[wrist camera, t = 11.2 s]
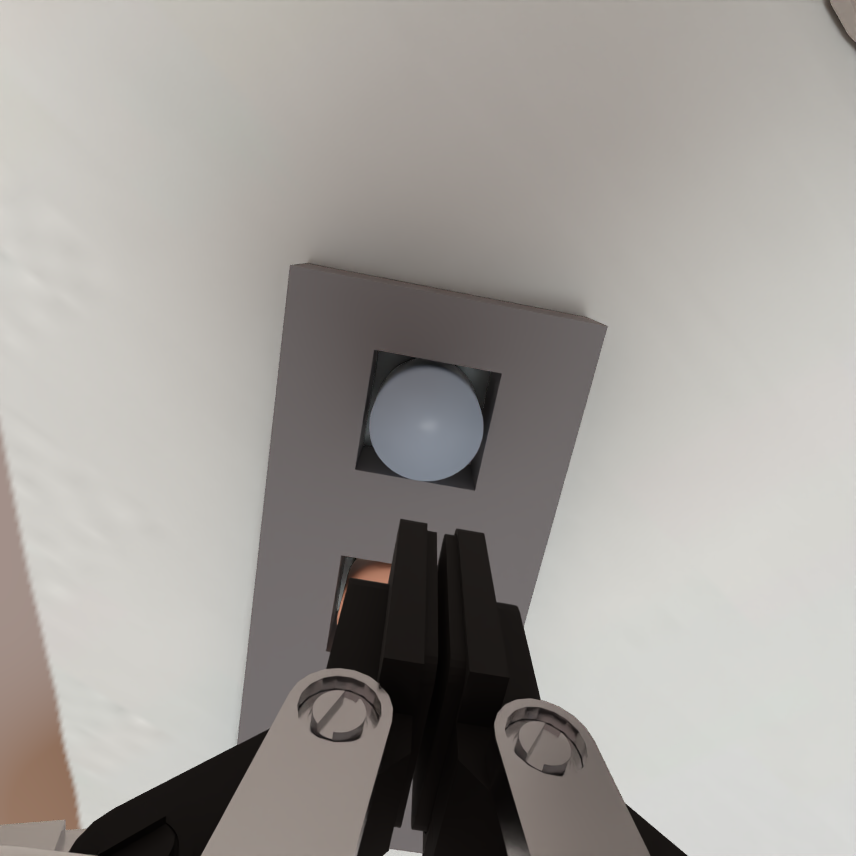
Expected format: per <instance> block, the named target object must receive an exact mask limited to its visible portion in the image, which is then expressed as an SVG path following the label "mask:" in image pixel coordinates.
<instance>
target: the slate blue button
mask: <svg viewBox="0 0 856 856" xmlns="http://www.w3.org/2000/svg"><path fill="white" fill-rule="evenodd" d="M369 433H370V438H371V442H372V445H373V447H374V449H375V452H376V453H377V455H378V456H379V458H380V459H381V460H382V462H383V463H384V464H385V465H386V466H387V467H389V468H390V469H391V470H392V471H394V472H395V473H397V474H399V475H401V476H403V477H406V478H408V479H412V480H417V481H436V480H441V479H445V478H447V477H450V476H452V475H454V474H456V473H458V472H459V471H460V470H462V469H463V468H464V467H465V466H467V465H468V464H469V463H470V461H471V460H472V459H473V458H474V456H475V455H476V453H477V451H478V449H479V447H480V444H481V441H482V437H483V417H482V413H481V409H480V406H479V403H478V400H477V396H476V393H475V390H474V388H473V385H472V384H471V382H470V380H469V379H468V378H467V376H466V375H465V374H464V373H463V372H462V371H461V370H460V369H459V368H457V367H456V366H454V365H453V364H448V363H443V362H438V361H432V360H427V359H422V358H417V359H413V360H409V361H407V362H405V363H403V364H401V365H399V366H398V367H396V368H395V369H394V370H392V371H391V372H390V374H389V375H388V376H387V377H386V378H385V380H384V381H383V383H382V385H381V387H380V389H379V392H378V395H377V397H376V400H375V403H374V405H373V408H372V411H371V415H370V421H369Z"/></svg>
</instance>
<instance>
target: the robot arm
mask: <svg viewBox="0 0 856 856" xmlns="http://www.w3.org/2000/svg"><path fill="white" fill-rule="evenodd" d="M830 2H831V5H832V7H833V9H834V11H835V12H836V14H837V16H838V18H839V19H840V21H841V23H842V25H843V26H844V28H845V30H846V32H847V33H848V35H849V36H850V37H851V38H852V39H853V40H854V41H855V42H856V0H830ZM427 526H428V525H427V523H423V522H417V521H411V520H406V519H400V523H399V527H398V533H397V538H396V543H395V549H394V554H393V559H392V564H391V570H390V575H389V580H388V584H386V583H380V582H374V581H368V580H362V579H357V578H351V577H350V578H349V582H348V585H347V589H346V593H345V597H344V601H343V605H342V609H341V613H340V616H339V620H338V624H337V628H336V632H335V636H334V640H333V644H332V648H331V652H330V656H329V659H328V663H327V667H326V669H324V670H321V671H318V672H314V673H311V674H309V675H308V676H306V677H305V678H303V679H302V680H300V681H299V682H297V684H296V685H295V686H294V687H293V689H292V690H291V691H290V692H289V694H288V696H287V698H286V700H285V702H284V703H283V705H282V707H281V709H280V711H279V713H278V714H277V716H276V718H275V720H274V722H273V724H272V726H271V727H270V728H269V729H268V730H266V731H264V732H262V733H260V734H258V735H256V736H254V737H252V738H250V739H248V740H246V741H244V742H242V743H240V744H238V745H236V746H234V747H233V748H231V749H229V750H227V751H225V752H223V753H221V754H219V755H217V756H215V757H213V758H211V759H209V760H207V761H205V762H203V763H201V764H199V765H198V766H196V767H194V768H192V769H190V770H188V771H186V772H184V773H182V774H180V775H178V776H176V777H174V778H172V779H170V780H168V781H166V782H164V783H163V784H161V785H159V786H157V787H155V788H153V789H151V790H149V791H147V792H145V793H143V794H141V795H139V796H137V797H135V798H133V799H131V800H129V801H128V802H126V803H124V804H122V805H120V806H118V807H116V808H114V809H112V810H111V811H109V812H108V813H106V814H105V815H103V816H102V817H100V818H99V819H97V820H96V821H94V822H93V823H92V824H91V825H90V826H89V827H88V828H87V829H77V830H65V820H57V821H45V822H33V823H19V824H7V825H0V856H383V855H384V854H385V853H386V852H388V851H389V847H390V843H391V838H392V834H393V830H394V827H397V828H401V826H402V822H403V818H404V813H405V809H406V805H407V800H408V796H409V792H410V787H411V783H412V779H413V783H412V808H411V829H412V830H418V831H423V855H422V856H687V855H686V854H685V853H684V852H683V851H681V850H680V849H679V848H678V847H677V846H675V845H674V844H673V843H672V842H671V841H669V840H668V839H667V838H666V837H665V836H663V835H662V834H661V833H660V832H659V831H658V830H656V829H655V828H654V827H653V826H652V825H650V824H649V823H648V822H647V821H646V820H644V819H643V818H642V817H641V816H640V815H638V814H637V813H636V812H635V811H634V810H632V809H631V808H630V807H629V806H628V805H627V804H625V802H624V800H623V798H622V796H621V794H620V792H619V790H618V788H617V786H616V784H615V782H614V780H613V778H612V776H611V774H610V772H609V770H608V768H607V766H606V763H605V761H604V759H603V757H602V755H601V753H600V751H599V749H598V747H597V745H596V743H595V741H594V739H593V738H592V736H591V735H590V733H589V732H588V730H587V729H586V727H585V726H584V725H583V724H582V723H581V722H580V721H579V720H578V719H577V718H575V717H574V716H573V715H572V714H570V713H569V712H567V711H565V710H564V709H562V708H561V707H559V706H556V705H554V704H551V703H549V702H546V701H543V700H541V699H540V695H539V691H538V687H537V682H536V678H535V674H534V670H533V665H532V661H531V657H530V653H529V648H528V644H527V640H526V636H525V631H524V627H523V623H522V619H521V614H520V611H519V608H518V606H516V605H512V604H506V603H500V602H496V596H495V591H494V585H493V579H492V574H491V568H490V562H489V556H488V551H487V545H486V539H485V534H484V533H481V532H475V531H469V530H464V529H458V528H457V529H456V530H455V533H454V535H450V534H445V535H444V538H443V542H442V546H441V551H440V556H439V560H438V565H437V532H433V531H427Z"/></svg>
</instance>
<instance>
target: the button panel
mask: <svg viewBox="0 0 856 856" xmlns="http://www.w3.org/2000/svg"><path fill="white" fill-rule="evenodd" d="M607 327H608V326H606V325H604V324H601V323H599V322H597V321H594V320H592V319H590V318H587V317H583V316H578V315H573V314H567V313H562V312H557V311H552V310H547V309H542V308H536V307H531V306H526V305H521V304H516V303H510V302H505V301H500V300H495V299H490V298H485V297H479V296H474V295H469V294H464V293H459V292H453V291H448V290H443V289H438V288H433V287H427V286H422V285H417V284H412V283H407V282H402V281H396V280H391V279H386V278H381V277H376V276H370V275H365V274H360V273H355V272H350V271H345V270H339V269H334V268H329V267H324V266H319V265H313V264H308V263H305V264H296V265H290V270H289V280H288V289H287V298H286V307H285V316H284V325H283V334H282V343H281V352H280V361H279V370H278V379H277V388H276V398H275V407H274V416H273V425H272V434H271V443H270V452H269V461H268V470H267V479H266V488H265V497H264V506H263V516H262V525H261V534H260V543H259V552H258V561H257V570H256V579H255V588H254V597H253V606H252V615H251V624H250V634H249V643H248V652H247V661H246V670H245V679H244V688H243V697H242V706H241V715H240V724H239V733H238V742H237V745H238V744H240V743H242V742H244V741H246V740H248V739H250V738H252V737H254V736H256V735H258V734H260V733H262V732H264V731H266V730H268V729H269V728H270V727H271V726H272V724H273V722H274V720H275V718H276V716H277V714H278V713H279V711H280V709H281V707H282V705H283V703H284V702H285V700H286V698H287V696H288V694H289V692H290V691H291V690H292V689H293V687H294V686H295V685H296V684H297V682H299V681H300V680H302V679H303V678H305V677H306V676H308V675H309V674H311V673H314V672H318V671H321V670H324V669H326V667H327V663H328V659H329V656H330V652H331V648H332V644H333V640H334V636H335V632H336V628H337V616H338V612H337V604H338V598H339V592H340V586H341V580H342V573H343V567H344V561H345V556H348V557H354V558H360V559H366V560H372V561H378V562H384V563H390V564H392V559H393V554H394V549H395V543H396V538H397V533H398V527H399V523H400V519H406V520H411V521H417V522H423V523H427V525H428V526H427V531H433V532H437V565H438V560H439V556H440V551H441V546H442V542H443V538H444V535H445V534H450V535H454V533H455V530H456V529H457V528H458V529H464V530H469V531H475V532H481V533H484V534H485V539H486V545H487V551H488V556H489V562H490V568H491V574H492V579H493V585H494V591H495V596H496V602H500V603H506V604H512V605H516V606H518V608H519V611H520V614H521V619H522V623H523V627H524V623H525V620H526V616H527V613H528V609H529V606H530V602H531V598H532V595H533V591H534V588H535V584H536V581H537V577H538V573H539V570H540V566H541V563H542V559H543V555H544V552H545V548H546V545H547V541H548V538H549V534H550V530H551V527H552V523H553V520H554V516H555V513H556V509H557V505H558V502H559V498H560V495H561V491H562V488H563V484H564V480H565V477H566V473H567V470H568V466H569V462H570V459H571V455H572V452H573V448H574V445H575V441H576V437H577V434H578V430H579V427H580V423H581V420H582V416H583V412H584V409H585V405H586V402H587V398H588V395H589V391H590V387H591V384H592V380H593V377H594V373H595V369H596V366H597V362H598V359H599V355H600V352H601V348H602V344H603V341H604V337H605V334H606V330H607ZM378 351H384V352H389V353H395V354H400V355H406V356H411V357H416V358H422V359H427V360H432V361H438V362H443V363H448V364H454V365H459V366H465V367H470V368H475V369H481V370H486V371H491V374H490V378H489V383H488V387H487V392H486V396H485V401H484V405H483V409H482V417H483V437H482V441H481V444H480V447H479V449H478V451H477V453H476V455H475V456H474V458H473V459H472V460H471V463H470V464H468V465H467V466H465V467H464V468H463V469H462V470H460V471H459V472H458V473H456V474H454V475H452V476H450V477H447V478H445V479H441V480H436V481H417V480H412V479H408V478H406V477H403V476H401V475H399V474H397V473H395V472H394V471H392V470H391V469H390V468H389V467H387V466H386V465H385V464H384V463H383V462H382V460H381V459H380V458H379V456H378V455H377V453H376V452H375V449H374V447H368V446H363V444H364V438H365V431H366V425H367V419H368V413H369V407H370V401H371V394H372V388H373V382H374V376H375V370H376V364H377V357H378ZM412 783H413V779H412ZM412 783H411V787H410V792H409V796H408V800H407V805H406V809H405V813H404V818H403V822H402V826H401V828H397V827H394V830H393V834H392V838H391V843H390V847H389V849H395V850H402V851H409V852H416V853H423V831H418V830H412V829H411V808H412Z"/></svg>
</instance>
